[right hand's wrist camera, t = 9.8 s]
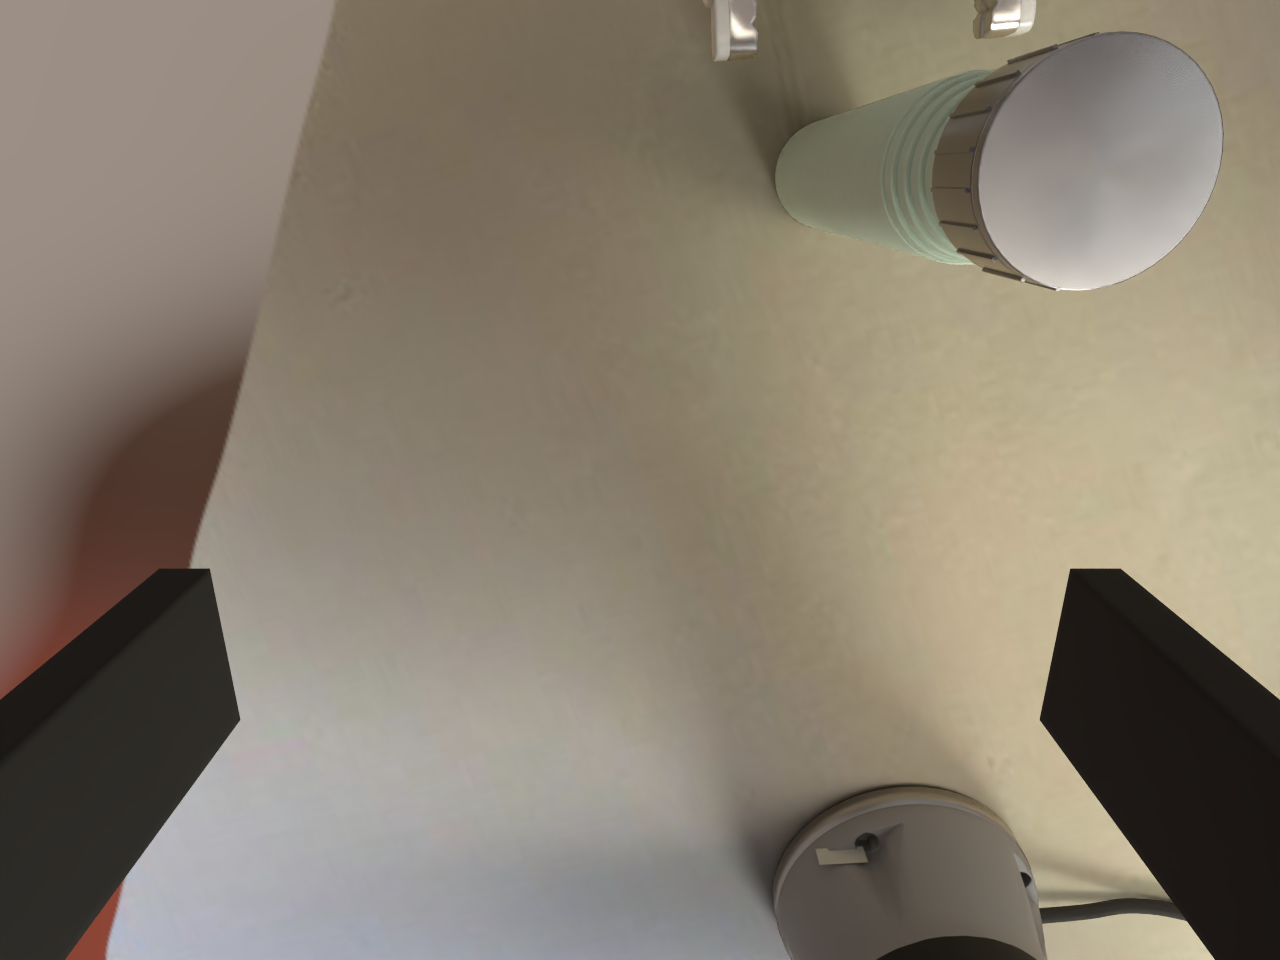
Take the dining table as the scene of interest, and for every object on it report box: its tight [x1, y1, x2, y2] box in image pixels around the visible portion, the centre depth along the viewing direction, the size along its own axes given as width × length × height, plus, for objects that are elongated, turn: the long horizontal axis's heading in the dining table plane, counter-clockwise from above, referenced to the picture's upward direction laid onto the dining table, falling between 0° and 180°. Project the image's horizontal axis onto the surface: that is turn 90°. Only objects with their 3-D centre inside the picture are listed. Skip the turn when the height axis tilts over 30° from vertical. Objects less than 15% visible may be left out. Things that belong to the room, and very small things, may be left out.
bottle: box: [775, 70, 995, 265], centre depth 26 cm, size 4×4×23 cm
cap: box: [931, 31, 1223, 291], centre depth 16 cm, size 4×4×3 cm
